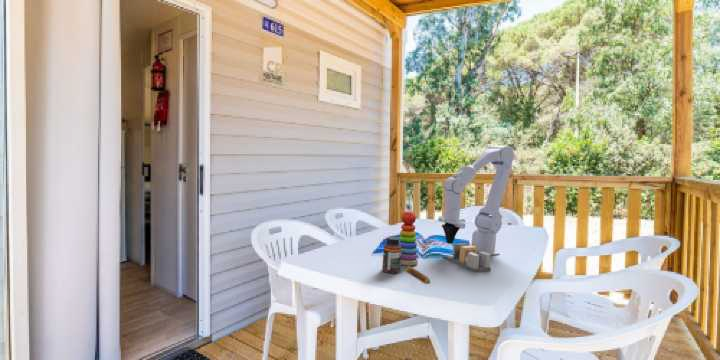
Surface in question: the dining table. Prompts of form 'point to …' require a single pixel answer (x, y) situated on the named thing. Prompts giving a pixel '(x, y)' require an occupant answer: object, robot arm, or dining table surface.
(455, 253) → the shaft
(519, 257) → the dining table surface
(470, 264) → the rail
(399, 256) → the supplement bottle
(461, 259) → the block
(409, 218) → the stacking toy
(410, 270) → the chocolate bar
